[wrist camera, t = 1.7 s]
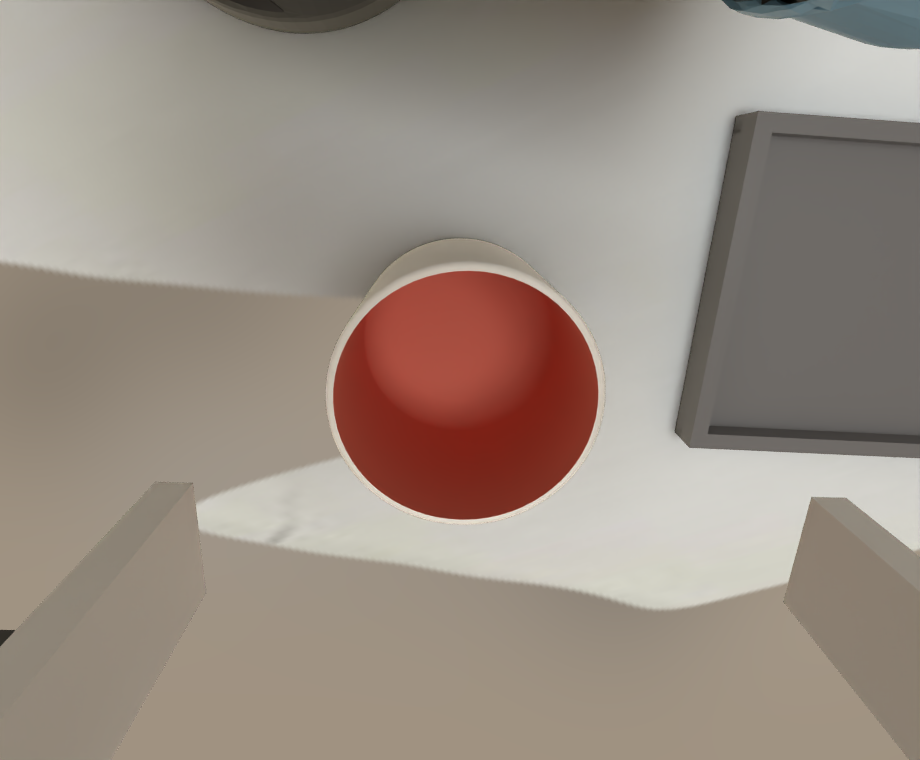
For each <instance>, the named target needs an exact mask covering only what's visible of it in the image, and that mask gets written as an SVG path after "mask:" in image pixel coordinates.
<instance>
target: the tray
mask: <svg viewBox="0 0 920 760" xmlns="http://www.w3.org/2000/svg"><path fill="white" fill-rule="evenodd" d="M675 433H676V434H677V435H678V436H679V437H680V438H681V439H682V440H683V441H684V442H685V443H686V445H687V446H688V447H689V448H709V449H730V450H752V451H774V452H796V453H818V454H840V455H862V456H884V457H906V458H920V123H911V122H897V121H884V120H870V119H857V118H844V117H830V116H817V115H804V114H790V113H777V112H763V111H757V112H752V113H748V114H744V115H739V116H736V121H735V126H734V131H733V136H732V141H731V146H730V152H729V157H728V162H727V167H726V172H725V177H724V182H723V188H722V193H721V198H720V203H719V208H718V213H717V218H716V223H715V229H714V234H713V239H712V244H711V249H710V254H709V259H708V265H707V270H706V275H705V280H704V285H703V290H702V295H701V300H700V306H699V311H698V316H697V321H696V326H695V331H694V336H693V342H692V347H691V352H690V357H689V362H688V367H687V372H686V377H685V383H684V388H683V393H682V398H681V403H680V408H679V413H678V419H677V424H676V429H675Z"/></svg>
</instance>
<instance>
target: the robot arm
mask: <svg viewBox="0 0 920 760" xmlns="http://www.w3.org/2000/svg"><path fill="white" fill-rule="evenodd" d="M206 1H207V2H208V3H210V4H211V5H213V6H215V7H216V8H218V9H220V10H222V11H223V12H225V13H227V14H229V15H231V16H233V17H236V18H238V19H240V20H243V21H245V22H248V23H250V24H253V25H257V26H260V27H263V28H267V29H272V30H276V31H283V32H291V33H319V32H328V31H333V30H338V29H343V28H346V27H350V26H353V25H356V24H358V23H361V22H363V21H366V20H368V19H370V18H372V17H374V16H376V15H378V14H380V13H382V12H383V11H385V10H387V9H388V8H390V7H391V6H393V5H394V4H395V3H397V2H398V1H400V0H206ZM722 1H723V2H724V3H725V4H726V5H727V6H728V7H729V8H731V9H733V10H736V11H737V12H739V13H742V14H745V15H749V16H753V17H758V18H771V19H783V18H792V19H795V20H797V21H800V22H803V23H806V24H809V25H812V26H815V27H818V28H821V29H824V30H827V31H830V32H833V33H836V34H839V35H842V36H844V37H847V38H850V39H853V40H856V41H859V42H862V43H865V44H870V45H874V46H878V47H887V48H899V49H920V0H722ZM205 594H206V586H205V578H204V570H203V562H202V555H201V546H200V537H199V529H198V520H197V512H196V504H195V496H194V487H193V483H178V482H177V483H176V482H155V483H154V484H153V485H152V486H151V487H150V488H149V489H148V490H147V491H146V492H145V493H144V494H143V495H142V497H141V498H140V499H139V500H138V501H137V502H136V503H135V504H134V505H133V506H132V507H131V508H130V509H129V511H128V512H127V513H126V514H125V515H124V516H123V517H122V518H121V519H120V520H119V521H118V522H117V523H116V524H115V525H114V526H113V527H112V528H111V529H110V531H109V532H108V533H107V534H106V535H105V536H104V537H103V538H102V539H101V540H100V541H99V542H98V543H97V544H96V545H95V547H94V548H93V549H92V550H91V551H90V552H89V553H88V554H87V555H86V556H85V557H84V558H83V559H82V560H81V561H80V562H79V564H78V565H77V566H76V567H75V568H74V569H73V570H72V571H71V572H70V573H69V574H68V575H67V576H66V577H65V578H64V579H63V580H62V582H61V583H60V584H59V585H58V586H57V587H56V588H55V589H54V590H53V591H52V592H51V593H50V594H49V595H48V596H47V598H46V599H45V600H44V601H43V602H42V603H41V604H40V605H39V606H38V607H37V608H36V609H35V610H34V611H33V613H32V614H31V615H30V616H29V617H28V618H27V619H26V620H25V621H24V622H23V623H22V624H21V625H20V626H19V627H18V628H17V629H16V630H0V760H111V759H112V758H113V756H114V754H115V752H116V751H117V749H118V747H119V745H120V744H121V742H122V740H123V738H124V736H125V735H126V733H127V731H128V729H129V728H130V726H131V724H132V722H133V721H134V719H135V717H136V715H137V714H138V712H139V710H140V708H141V707H142V705H143V703H144V701H145V700H146V698H147V696H148V694H149V693H150V691H151V689H152V687H153V685H154V684H155V682H156V680H157V678H158V677H159V675H160V673H161V671H162V670H163V668H164V666H165V664H166V662H167V661H168V659H169V657H170V656H171V654H172V652H173V650H174V649H175V647H176V645H177V643H178V642H179V640H180V638H181V636H182V634H183V633H184V631H185V629H186V628H187V626H188V624H189V622H190V621H191V619H192V617H193V615H194V613H195V612H196V610H197V608H198V606H199V605H200V603H201V601H202V599H203V598H204V596H205ZM783 602H784V604H785V605H786V606H787V607H788V609H789V610H790V611H791V612H792V613H793V615H794V616H795V617H796V619H797V620H798V621H799V622H800V624H801V625H802V626H803V627H804V629H805V630H806V631H807V632H808V634H809V635H810V636H811V637H812V639H813V640H814V641H815V643H816V644H817V645H818V646H819V648H821V650H822V651H823V652H824V654H825V655H826V656H827V657H828V659H829V660H830V661H831V663H832V664H833V665H834V666H835V668H836V669H837V670H838V671H839V672H840V674H841V675H842V676H843V678H844V679H845V680H846V681H847V683H848V684H849V685H850V686H851V688H852V689H853V690H854V691H855V692H856V694H857V695H858V696H859V698H860V699H861V700H862V701H863V703H864V704H865V705H866V706H867V707H868V709H869V710H870V711H871V713H872V714H873V715H874V716H875V718H876V719H877V720H878V721H879V723H880V724H881V725H882V726H883V728H884V729H885V730H886V731H887V733H888V734H889V735H890V736H891V738H892V739H893V740H894V741H895V743H896V744H897V745H898V746H899V748H900V749H901V750H902V751H903V753H904V754H905V755H906V756H907V758H908V759H909V760H920V557H919V556H918V555H917V554H916V553H914V552H913V551H912V550H911V549H909V548H908V547H907V546H906V545H904V544H903V543H902V542H901V541H899V540H898V539H897V538H896V537H894V536H893V535H892V534H891V533H889V532H888V531H887V530H886V529H884V528H883V527H882V526H881V525H879V524H878V523H877V522H876V521H874V520H873V519H872V518H871V517H869V516H868V515H867V514H866V513H864V512H863V511H862V510H861V509H859V508H858V507H857V506H856V505H854V504H853V503H852V502H850V501H849V500H848V499H847V498H828V497H811V501H810V504H809V508H808V512H807V516H806V519H805V523H804V527H803V530H802V534H801V538H800V541H799V545H798V549H797V553H796V556H795V560H794V564H793V567H792V571H791V575H790V578H789V582H788V586H787V590H786V593H785V597H784V601H783Z"/></svg>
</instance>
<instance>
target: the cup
mask: <svg viewBox="0 0 920 760" xmlns="http://www.w3.org/2000/svg"><path fill="white" fill-rule="evenodd" d="M605 387H606V386H605V375H604V369H603V364H602V360H601V356H600V353H599V350H598V347H597V344H596V342H595V340H594V338H593V336H592V334H591V332H590V330H589V328H588V326H587V325H586V323H585V322H584V320H583V319H582V317H581V316H580V315H579V313H578V312H577V311H576V310H575V308H574V307H573V306H572V305H571V304H570V303H569V302H568V301H567V300H566V299H565V298H564V297H563V296H562V295H561V294H560V293H559V292H558V291H556V290H555V289H554V288H553V287H552V286H551V285H550V284H549V283H548V282H547V281H546V280H545V279H544V278H542V277H541V276H540V275H539V274H538V273H537V272H536V271H535V270H534V269H533V268H532V267H531V266H530V265H528V264H527V263H526V262H525V261H524V260H523V259H521V258H520V257H518V256H517V255H515V254H514V253H512V252H510V251H508V250H507V249H505V248H502V247H500V246H498V245H495V244H492V243H489V242H485V241H481V240H475V239H466V238H453V239H444V240H438V241H434V242H430V243H427V244H424V245H422V246H419V247H417V248H415V249H413V250H411V251H409V252H407V253H406V254H404V255H402V256H401V257H400V258H398V259H397V260H396V261H394V262H393V263H392V264H391V265H390V266H389V267H387V268H386V269H385V271H384V272H383V273H382V274H381V275H380V276H379V277H378V279H377V280H376V281H375V283H374V284H373V286H372V287H371V289H370V290H369V292H368V293H367V295H366V296H365V298H364V299H363V301H362V302H361V304H360V305H359V307H358V308H357V310H356V311H355V312H354V314H353V316H352V317H351V319H350V320H349V321H348V323H347V325H346V326H345V328H344V329H343V331H342V333H341V335H340V337H339V339H338V341H337V343H336V345H335V347H334V350H333V353H332V356H331V359H330V363H329V367H328V372H327V379H326V388H325V389H326V410H327V417H328V421H329V426H330V429H331V433H332V436H333V438H334V441H335V443H336V446H337V448H338V450H339V452H340V454H341V455H342V457H343V459H344V461H345V462H346V464H347V465H348V467H349V468H350V469H351V471H352V472H353V473H354V474H355V476H356V477H357V478H358V479H359V480H360V481H361V482H362V483H363V484H364V485H365V486H366V487H367V488H368V489H369V490H370V491H371V492H373V493H374V494H375V495H376V496H378V497H379V498H380V499H382V500H383V501H385V502H386V503H388V504H390V505H391V506H393V507H395V508H397V509H399V510H401V511H403V512H405V513H408V514H410V515H413V516H416V517H419V518H422V519H425V520H429V521H434V522H439V523H446V524H462V525H467V524H481V523H488V522H493V521H498V520H502V519H505V518H509V517H512V516H514V515H517V514H520V513H522V512H524V511H527V510H529V509H531V508H532V507H534V506H536V505H537V504H539V503H541V502H543V501H544V500H546V499H547V498H549V497H550V496H551V495H553V494H554V493H555V492H557V491H558V490H559V489H560V488H561V487H562V486H563V485H564V484H566V483H567V482H568V481H569V479H570V478H571V477H572V476H573V475H574V474H575V473H576V472H577V470H578V469H579V468H580V466H581V465H582V463H583V462H584V461H585V459H586V457H587V456H588V454H589V452H590V450H591V448H592V447H593V444H594V442H595V440H596V437H597V435H598V432H599V429H600V425H601V422H602V418H603V412H604V406H605Z"/></svg>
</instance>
